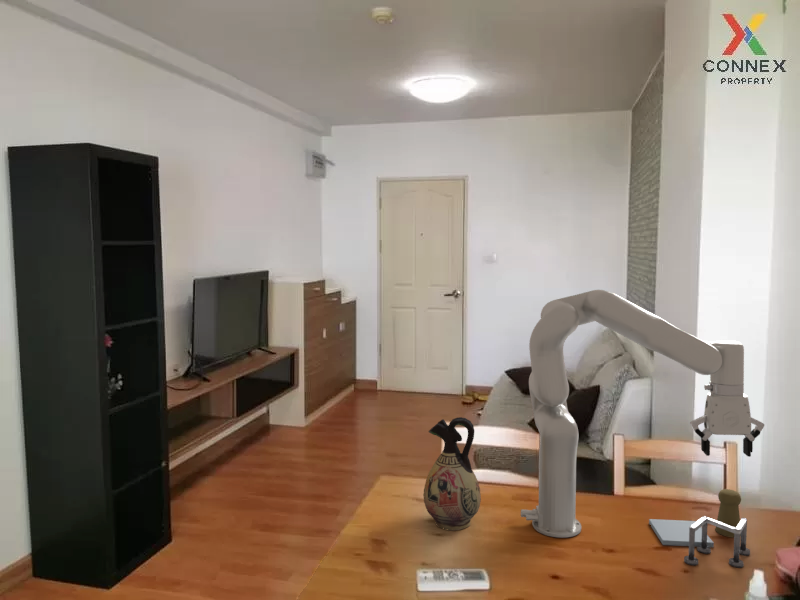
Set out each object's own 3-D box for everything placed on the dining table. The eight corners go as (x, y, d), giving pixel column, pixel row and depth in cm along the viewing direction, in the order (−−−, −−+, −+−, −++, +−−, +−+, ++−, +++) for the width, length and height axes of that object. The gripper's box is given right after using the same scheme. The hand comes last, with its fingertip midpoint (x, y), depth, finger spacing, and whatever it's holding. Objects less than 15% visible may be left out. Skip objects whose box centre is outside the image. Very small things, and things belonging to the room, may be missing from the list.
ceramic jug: (415, 531, 159) (414, 420, 156) (434, 508, 173) (433, 405, 170) (478, 542, 152) (478, 426, 150) (492, 517, 166) (492, 411, 164)
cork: (745, 538, 153) (746, 496, 152) (719, 536, 154) (720, 494, 154) (736, 527, 159) (738, 487, 158) (712, 525, 160) (713, 485, 159)
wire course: (686, 565, 141) (687, 529, 140) (674, 546, 149) (675, 512, 149) (764, 569, 138) (765, 532, 138) (746, 549, 147) (748, 515, 147)
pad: (662, 544, 150) (663, 540, 150) (649, 523, 162) (649, 519, 162) (713, 547, 149) (713, 542, 149) (695, 525, 161) (696, 521, 161)
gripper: (695, 392, 152) (695, 458, 153) (770, 392, 148) (769, 460, 150) (686, 385, 159) (686, 449, 160) (757, 385, 156) (757, 450, 157)
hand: (726, 454), depth 155 cm, fingers open, 9 cm apart
